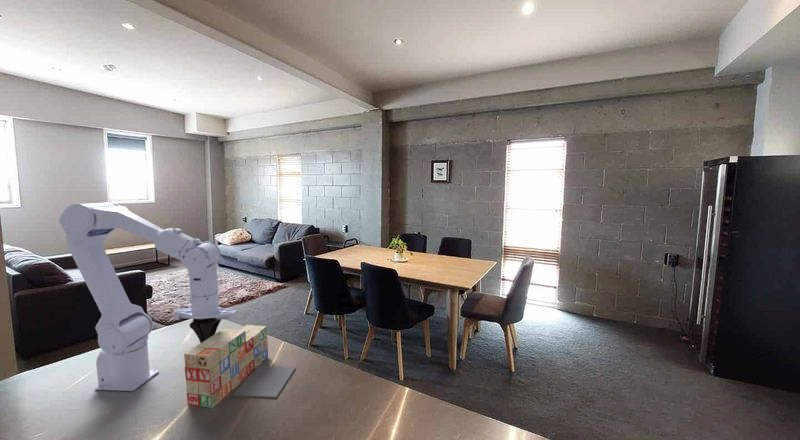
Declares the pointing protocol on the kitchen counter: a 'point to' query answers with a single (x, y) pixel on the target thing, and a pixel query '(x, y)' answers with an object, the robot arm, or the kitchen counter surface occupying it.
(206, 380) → the stack of blocks
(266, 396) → the mat
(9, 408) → the kitchen counter surface
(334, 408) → the kitchen counter surface
